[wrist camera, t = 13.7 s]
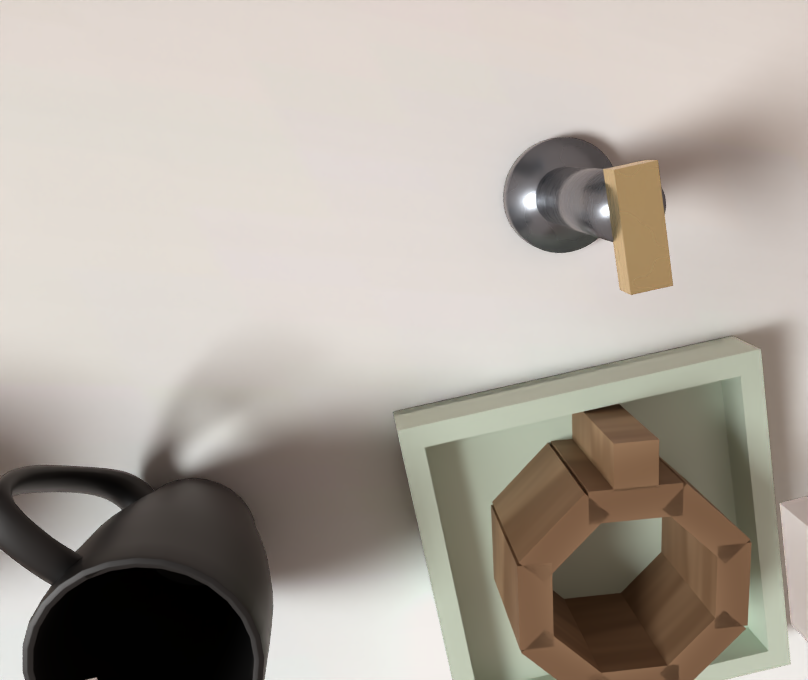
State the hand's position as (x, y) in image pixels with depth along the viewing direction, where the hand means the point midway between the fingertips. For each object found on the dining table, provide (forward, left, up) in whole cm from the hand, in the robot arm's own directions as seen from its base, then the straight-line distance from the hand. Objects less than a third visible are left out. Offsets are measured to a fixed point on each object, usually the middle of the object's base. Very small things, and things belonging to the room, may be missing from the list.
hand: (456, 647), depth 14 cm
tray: (+10, +8, -21) cm, 24 cm away
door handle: (-6, +9, -21) cm, 23 cm away
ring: (+10, +8, -20) cm, 24 cm away
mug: (+4, -11, -21) cm, 24 cm away
